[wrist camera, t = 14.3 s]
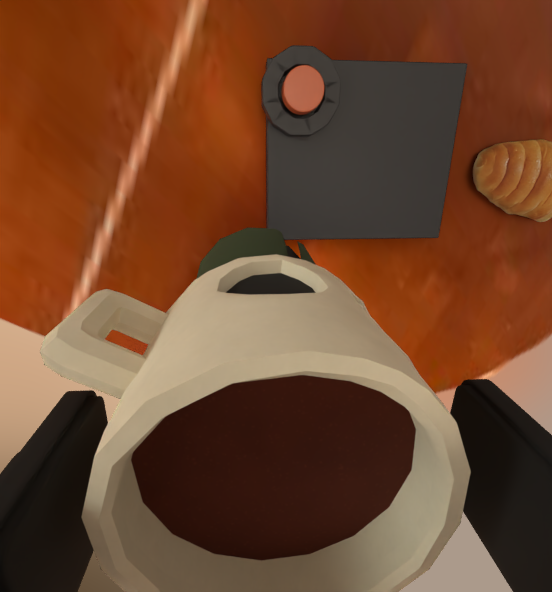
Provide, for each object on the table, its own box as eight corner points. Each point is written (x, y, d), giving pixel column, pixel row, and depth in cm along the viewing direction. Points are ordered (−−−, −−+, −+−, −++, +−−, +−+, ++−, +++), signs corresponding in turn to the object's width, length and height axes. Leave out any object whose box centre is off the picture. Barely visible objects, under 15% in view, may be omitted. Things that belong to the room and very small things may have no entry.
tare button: (281, 114, 27) (283, 112, 26) (281, 69, 26) (283, 64, 25) (319, 115, 28) (323, 112, 26) (321, 70, 26) (325, 65, 25)
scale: (262, 236, 34) (263, 244, 30) (260, 57, 29) (261, 44, 25) (428, 234, 35) (447, 241, 32) (455, 62, 30) (481, 50, 27)
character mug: (379, 276, 19) (622, 483, 7) (309, 377, 21) (401, 680, 9) (191, 166, 16) (37, 186, 4) (130, 295, 18) (-98, 568, 6)
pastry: (454, 201, 34) (479, 205, 30) (483, 125, 32) (513, 120, 28) (538, 222, 35) (571, 228, 32) (571, 151, 33) (611, 149, 30)
